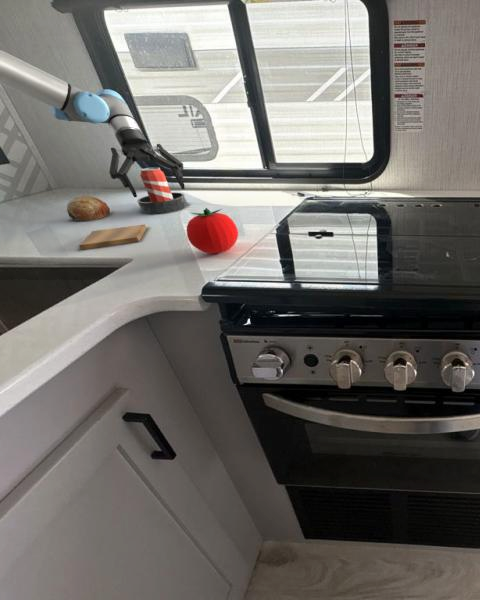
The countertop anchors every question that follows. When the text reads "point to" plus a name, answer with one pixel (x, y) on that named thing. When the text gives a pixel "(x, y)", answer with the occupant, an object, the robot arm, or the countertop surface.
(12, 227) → the countertop surface
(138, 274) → the countertop surface
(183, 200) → the pan
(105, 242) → the board
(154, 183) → the beverage can
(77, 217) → the bread roll
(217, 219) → the tomato
